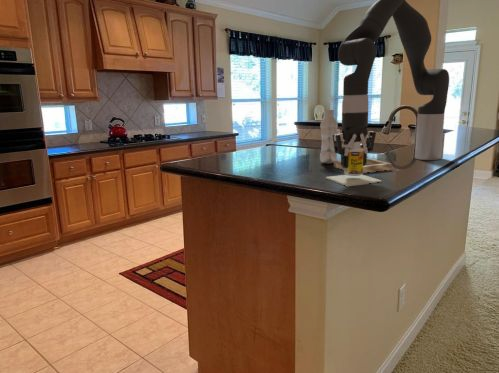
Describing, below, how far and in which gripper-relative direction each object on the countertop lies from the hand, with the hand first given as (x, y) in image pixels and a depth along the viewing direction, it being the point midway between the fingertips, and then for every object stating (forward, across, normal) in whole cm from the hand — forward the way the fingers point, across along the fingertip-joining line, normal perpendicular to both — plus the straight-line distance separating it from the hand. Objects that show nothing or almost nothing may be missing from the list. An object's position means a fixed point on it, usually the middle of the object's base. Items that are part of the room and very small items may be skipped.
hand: (353, 166), depth 119 cm
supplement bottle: (+3, 0, 0) cm, 3 cm away
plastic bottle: (+5, -8, -28) cm, 29 cm away
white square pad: (+4, 0, 0) cm, 4 cm away
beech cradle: (+4, -13, -14) cm, 19 cm away
